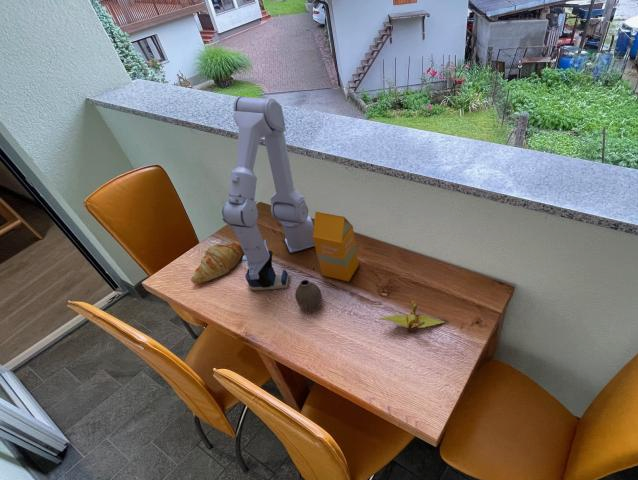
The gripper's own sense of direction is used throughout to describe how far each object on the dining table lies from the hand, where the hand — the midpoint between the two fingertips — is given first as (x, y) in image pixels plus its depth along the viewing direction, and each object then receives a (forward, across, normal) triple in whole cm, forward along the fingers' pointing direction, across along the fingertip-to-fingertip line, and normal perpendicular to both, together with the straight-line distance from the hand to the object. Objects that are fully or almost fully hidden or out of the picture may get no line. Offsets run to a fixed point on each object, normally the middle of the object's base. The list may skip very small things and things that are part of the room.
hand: (267, 280), depth 101 cm
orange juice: (+2, -3, +21) cm, 21 cm away
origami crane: (+2, +20, +40) cm, 45 cm away
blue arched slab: (+1, 0, 0) cm, 1 cm away
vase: (+2, +10, +13) cm, 17 cm away
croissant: (+2, -10, -16) cm, 19 cm away
